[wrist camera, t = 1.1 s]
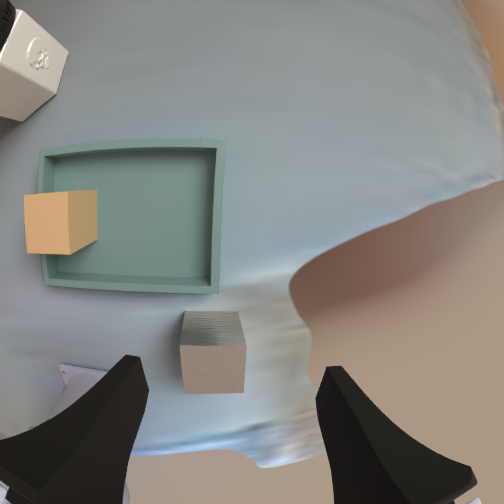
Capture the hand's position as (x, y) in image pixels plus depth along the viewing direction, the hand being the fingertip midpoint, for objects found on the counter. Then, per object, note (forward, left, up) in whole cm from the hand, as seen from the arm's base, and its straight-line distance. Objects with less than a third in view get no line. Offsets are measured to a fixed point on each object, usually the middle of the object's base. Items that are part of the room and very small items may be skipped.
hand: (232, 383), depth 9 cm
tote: (+5, +8, -13) cm, 16 cm away
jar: (+18, +20, -13) cm, 30 cm away
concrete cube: (-6, +1, -13) cm, 14 cm away
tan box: (+5, +12, -13) cm, 18 cm away
